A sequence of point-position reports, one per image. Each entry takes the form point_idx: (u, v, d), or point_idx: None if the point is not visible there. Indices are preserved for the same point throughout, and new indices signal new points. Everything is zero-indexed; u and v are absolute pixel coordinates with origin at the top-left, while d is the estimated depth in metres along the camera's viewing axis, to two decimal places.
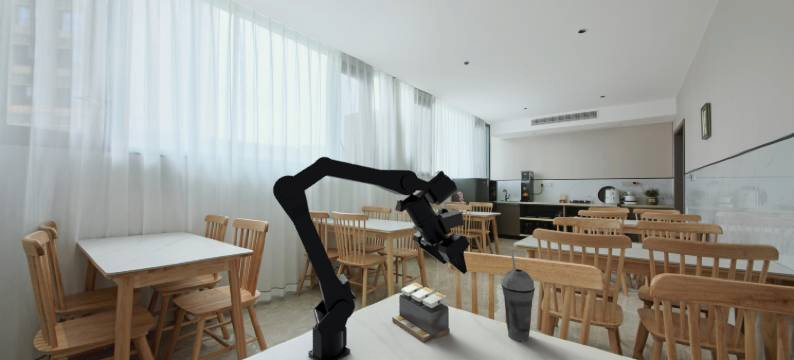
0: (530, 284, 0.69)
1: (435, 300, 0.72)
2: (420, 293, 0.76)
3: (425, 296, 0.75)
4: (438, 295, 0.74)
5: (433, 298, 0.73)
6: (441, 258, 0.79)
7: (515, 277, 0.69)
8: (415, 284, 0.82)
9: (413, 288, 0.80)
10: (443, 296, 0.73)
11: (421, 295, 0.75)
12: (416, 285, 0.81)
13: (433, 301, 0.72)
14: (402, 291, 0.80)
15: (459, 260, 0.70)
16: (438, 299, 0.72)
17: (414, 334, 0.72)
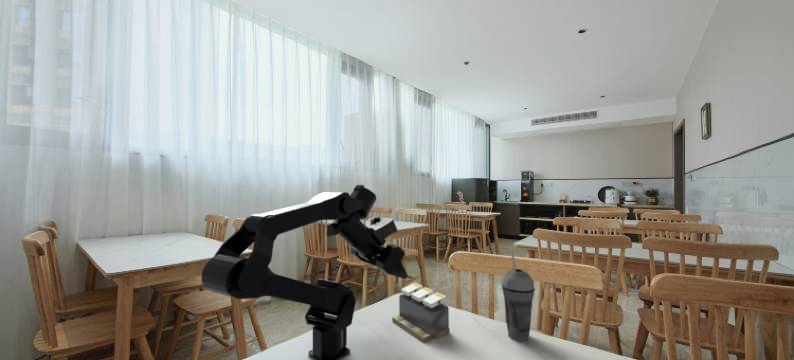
0: (530, 284, 0.69)
1: (435, 300, 0.72)
2: (420, 293, 0.76)
3: (425, 296, 0.75)
4: (438, 295, 0.74)
5: (433, 298, 0.73)
6: None
7: (515, 277, 0.69)
8: (415, 284, 0.82)
9: (413, 288, 0.80)
10: (443, 296, 0.73)
11: (421, 295, 0.75)
12: (416, 285, 0.81)
13: (433, 301, 0.72)
14: (402, 291, 0.80)
15: (398, 268, 0.71)
16: (438, 299, 0.72)
17: (414, 334, 0.72)
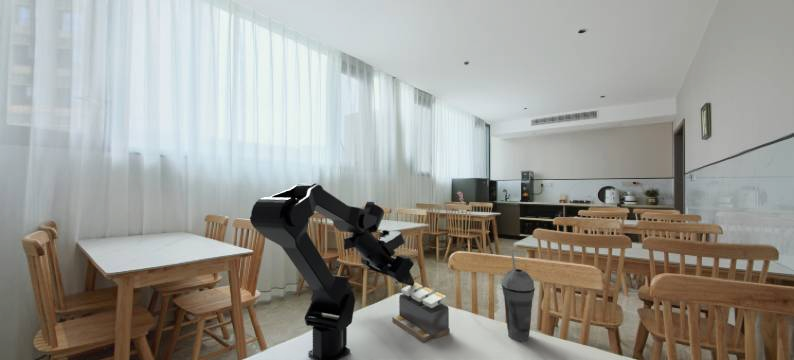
0: (530, 284, 0.69)
1: (435, 300, 0.72)
2: (420, 293, 0.76)
3: (425, 296, 0.75)
4: (438, 295, 0.74)
5: (433, 298, 0.73)
6: None
7: (515, 277, 0.69)
8: (415, 284, 0.82)
9: (413, 288, 0.80)
10: (443, 296, 0.73)
11: (421, 295, 0.75)
12: (416, 285, 0.81)
13: (433, 301, 0.72)
14: (402, 291, 0.80)
15: (406, 277, 0.79)
16: (438, 299, 0.72)
17: (414, 334, 0.72)
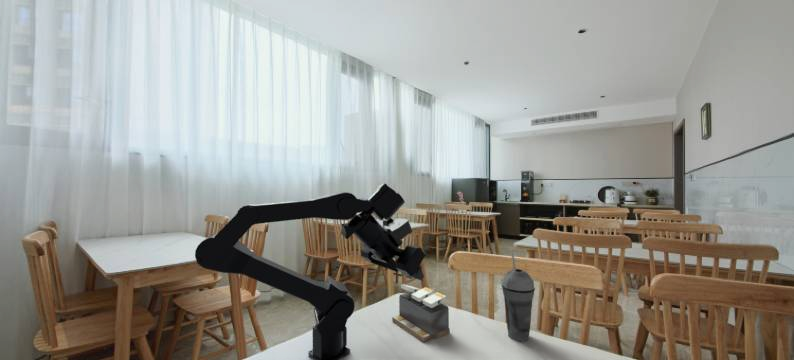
0: (530, 284, 0.69)
1: (435, 300, 0.72)
2: (420, 293, 0.76)
3: (425, 296, 0.75)
4: (438, 295, 0.74)
5: (433, 298, 0.73)
6: (393, 267, 0.78)
7: (515, 277, 0.69)
8: None
9: (414, 288, 0.80)
10: (443, 296, 0.73)
11: (421, 295, 0.75)
12: (417, 288, 0.81)
13: (433, 301, 0.72)
14: (402, 286, 0.80)
15: (416, 270, 0.69)
16: (438, 299, 0.72)
17: (414, 334, 0.72)
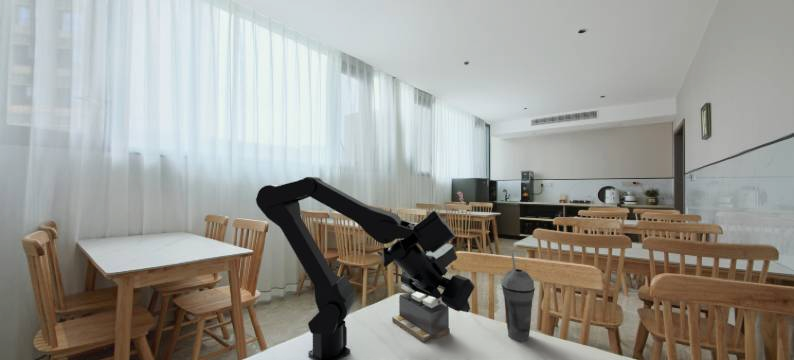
0: (530, 284, 0.69)
1: (435, 300, 0.72)
2: (420, 293, 0.76)
3: (425, 296, 0.75)
4: None
5: (433, 298, 0.73)
6: (436, 294, 0.72)
7: (515, 277, 0.69)
8: None
9: None
10: None
11: (421, 295, 0.75)
12: None
13: (433, 301, 0.72)
14: (402, 286, 0.80)
15: None
16: (438, 299, 0.72)
17: (414, 334, 0.72)
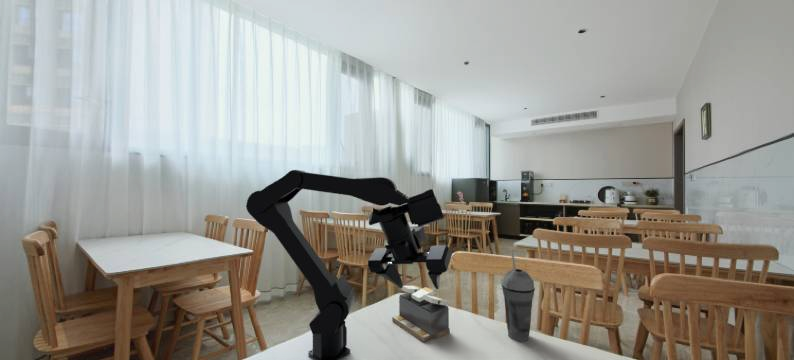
0: (530, 284, 0.69)
1: (436, 299, 0.72)
2: (420, 293, 0.76)
3: None
4: (439, 298, 0.74)
5: (434, 297, 0.73)
6: (399, 282, 0.72)
7: (515, 277, 0.69)
8: (416, 286, 0.82)
9: (414, 288, 0.80)
10: (444, 300, 0.73)
11: (421, 295, 0.75)
12: (417, 287, 0.81)
13: (434, 298, 0.72)
14: (402, 288, 0.80)
15: None
16: (439, 299, 0.72)
17: (414, 334, 0.72)
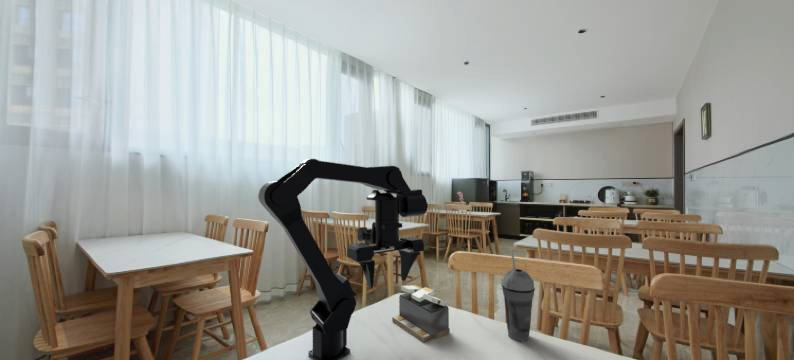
0: (530, 284, 0.69)
1: (436, 298, 0.72)
2: (420, 293, 0.76)
3: None
4: (439, 299, 0.74)
5: (434, 297, 0.73)
6: None
7: (515, 277, 0.69)
8: (416, 286, 0.82)
9: (414, 288, 0.80)
10: (444, 301, 0.73)
11: (421, 295, 0.75)
12: (417, 287, 0.81)
13: (434, 298, 0.72)
14: (402, 288, 0.80)
15: None
16: (439, 299, 0.72)
17: (414, 334, 0.72)
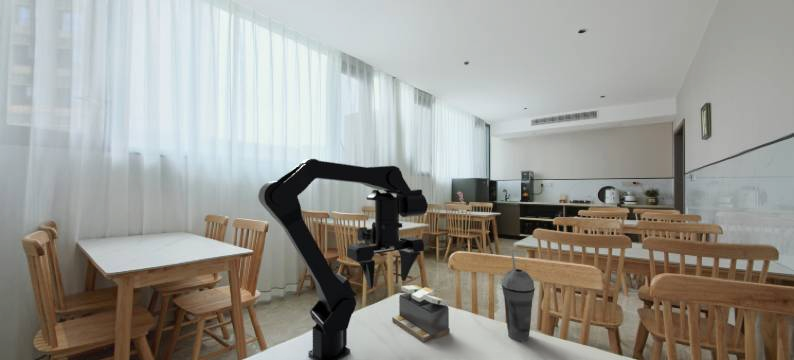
0: (530, 284, 0.69)
1: (436, 298, 0.72)
2: (420, 293, 0.76)
3: None
4: (439, 298, 0.74)
5: (434, 297, 0.73)
6: None
7: (515, 277, 0.69)
8: (416, 286, 0.82)
9: (413, 288, 0.80)
10: (444, 300, 0.73)
11: (421, 295, 0.75)
12: (417, 286, 0.81)
13: (434, 298, 0.72)
14: (402, 288, 0.80)
15: None
16: (439, 299, 0.72)
17: (414, 334, 0.72)
